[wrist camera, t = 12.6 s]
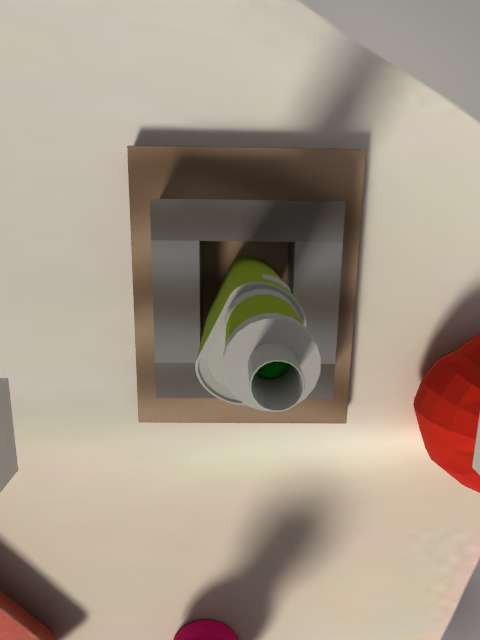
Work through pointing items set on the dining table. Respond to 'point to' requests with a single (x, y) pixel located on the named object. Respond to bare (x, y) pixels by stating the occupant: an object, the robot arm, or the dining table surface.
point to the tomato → (452, 411)
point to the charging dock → (230, 244)
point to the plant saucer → (20, 622)
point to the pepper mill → (206, 631)
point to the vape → (257, 341)
